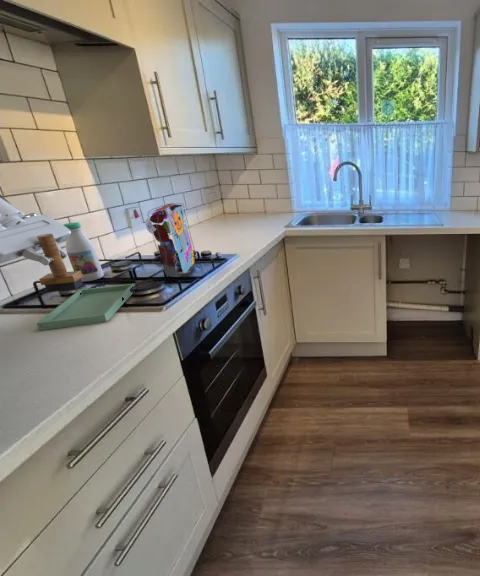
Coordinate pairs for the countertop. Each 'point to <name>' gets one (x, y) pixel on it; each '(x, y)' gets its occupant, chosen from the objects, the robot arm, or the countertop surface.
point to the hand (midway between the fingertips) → (57, 260)
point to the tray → (87, 307)
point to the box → (167, 244)
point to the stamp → (57, 268)
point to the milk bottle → (82, 254)
